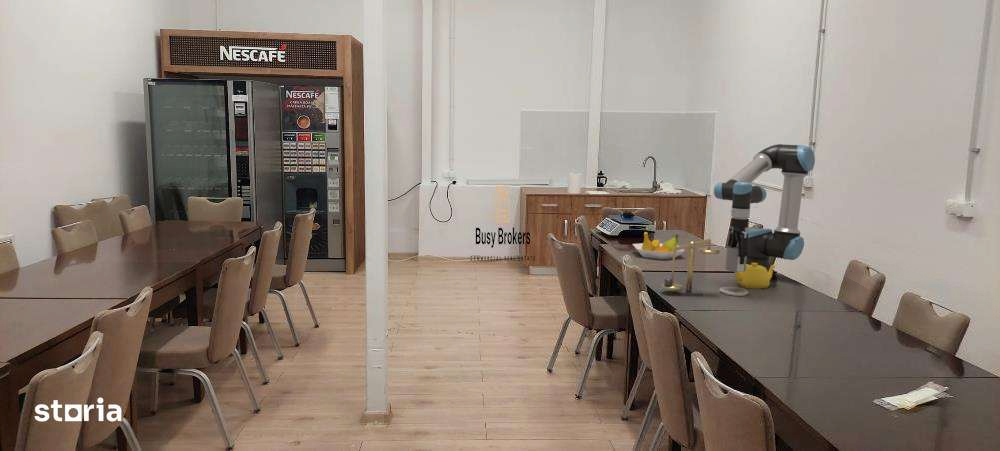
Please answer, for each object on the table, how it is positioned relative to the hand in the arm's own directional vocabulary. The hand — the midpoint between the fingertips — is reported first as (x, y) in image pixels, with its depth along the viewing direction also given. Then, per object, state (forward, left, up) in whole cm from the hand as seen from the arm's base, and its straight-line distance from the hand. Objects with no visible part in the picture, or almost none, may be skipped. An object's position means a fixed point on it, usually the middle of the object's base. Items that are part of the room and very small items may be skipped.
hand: (735, 268), depth 310 cm
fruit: (+8, -82, -11) cm, 83 cm away
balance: (+21, +1, -11) cm, 24 cm away
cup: (0, 0, -1) cm, 1 cm away
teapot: (-15, -15, -11) cm, 24 cm away
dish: (0, 0, -11) cm, 11 cm away
